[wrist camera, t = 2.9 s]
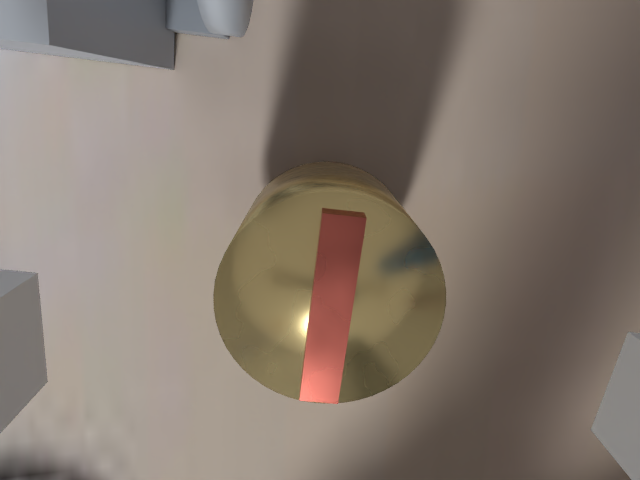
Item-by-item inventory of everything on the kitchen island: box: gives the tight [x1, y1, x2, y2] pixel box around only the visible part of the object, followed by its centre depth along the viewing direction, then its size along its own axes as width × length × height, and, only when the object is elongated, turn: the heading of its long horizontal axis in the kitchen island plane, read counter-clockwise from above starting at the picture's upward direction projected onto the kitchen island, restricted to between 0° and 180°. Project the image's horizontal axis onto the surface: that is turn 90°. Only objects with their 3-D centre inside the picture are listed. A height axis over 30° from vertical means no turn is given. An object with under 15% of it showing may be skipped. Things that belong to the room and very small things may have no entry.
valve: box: [214, 162, 446, 404], centre depth 17 cm, size 7×7×9 cm
